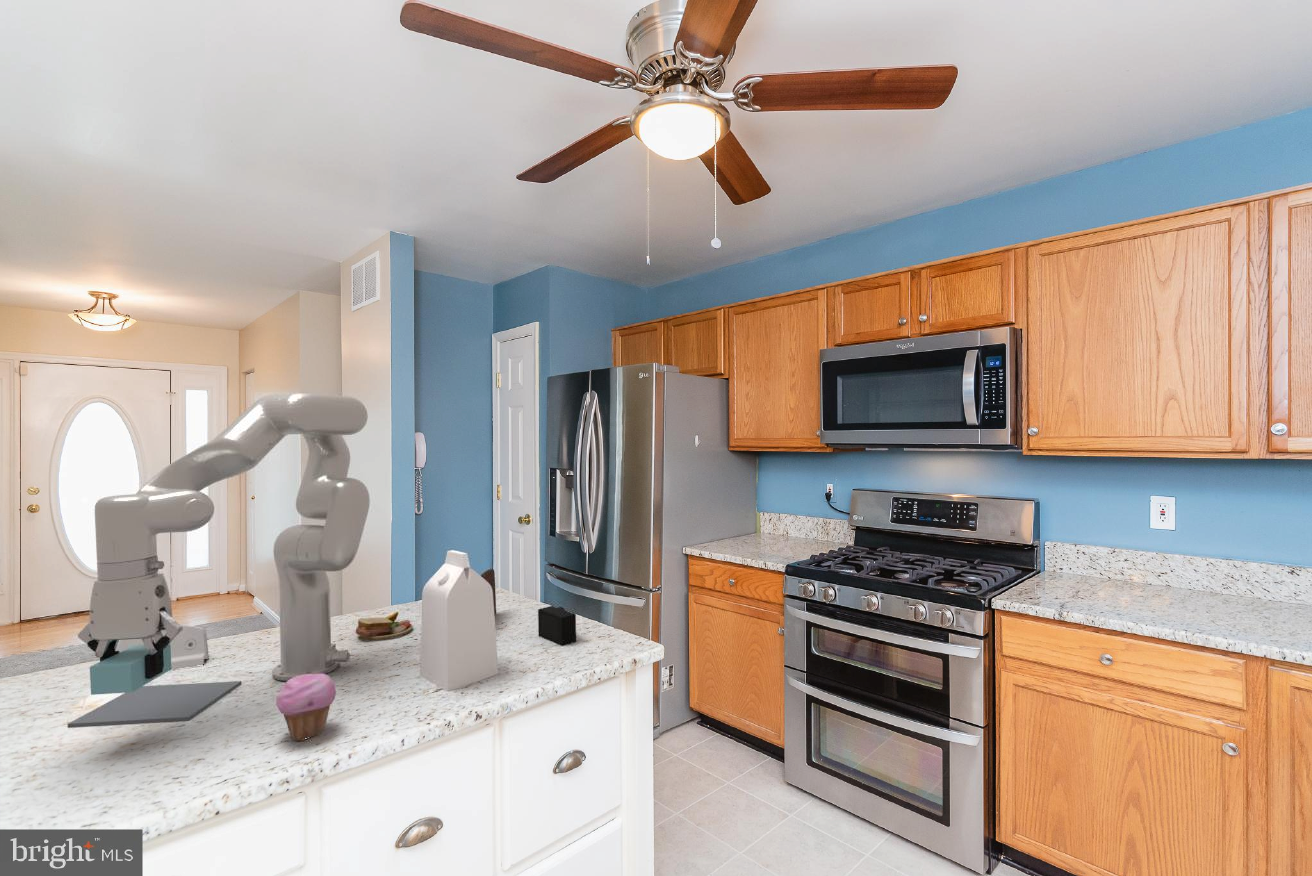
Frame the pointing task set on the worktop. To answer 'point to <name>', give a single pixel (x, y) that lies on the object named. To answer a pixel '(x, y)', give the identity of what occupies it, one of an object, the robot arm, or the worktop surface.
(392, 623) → the toy sandwich meal
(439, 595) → the milk
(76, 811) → the worktop surface
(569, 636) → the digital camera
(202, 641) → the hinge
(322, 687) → the cupcake
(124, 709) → the mat
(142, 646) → the card box
